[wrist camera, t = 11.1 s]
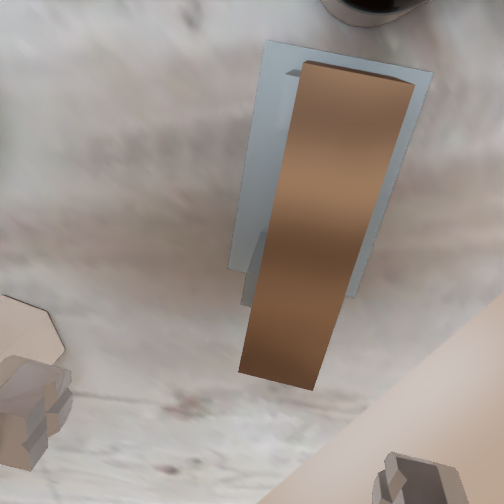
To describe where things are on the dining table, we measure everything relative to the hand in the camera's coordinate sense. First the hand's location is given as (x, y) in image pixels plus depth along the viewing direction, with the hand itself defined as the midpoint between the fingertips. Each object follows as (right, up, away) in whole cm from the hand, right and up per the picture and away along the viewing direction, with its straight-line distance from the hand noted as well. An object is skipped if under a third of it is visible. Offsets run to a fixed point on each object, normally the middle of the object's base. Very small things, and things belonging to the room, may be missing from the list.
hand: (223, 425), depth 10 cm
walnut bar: (+4, +6, +12) cm, 14 cm away
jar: (-22, -3, +30) cm, 37 cm away
